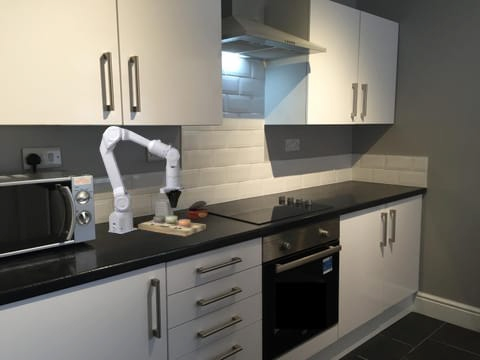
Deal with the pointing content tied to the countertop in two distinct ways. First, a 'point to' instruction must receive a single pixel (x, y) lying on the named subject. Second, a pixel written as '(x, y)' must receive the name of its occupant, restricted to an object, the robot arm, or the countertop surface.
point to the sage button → (171, 219)
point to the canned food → (197, 210)
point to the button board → (172, 228)
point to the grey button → (159, 219)
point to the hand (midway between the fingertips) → (173, 207)
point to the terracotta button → (184, 222)
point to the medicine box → (163, 208)
